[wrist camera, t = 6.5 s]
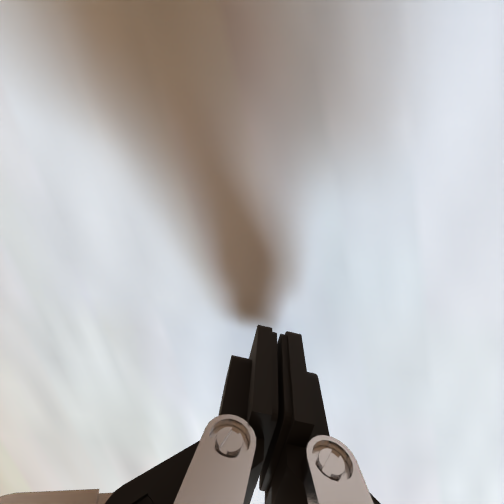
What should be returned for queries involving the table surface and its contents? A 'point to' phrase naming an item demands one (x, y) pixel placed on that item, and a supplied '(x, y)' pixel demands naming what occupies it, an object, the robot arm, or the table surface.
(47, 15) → the table surface
